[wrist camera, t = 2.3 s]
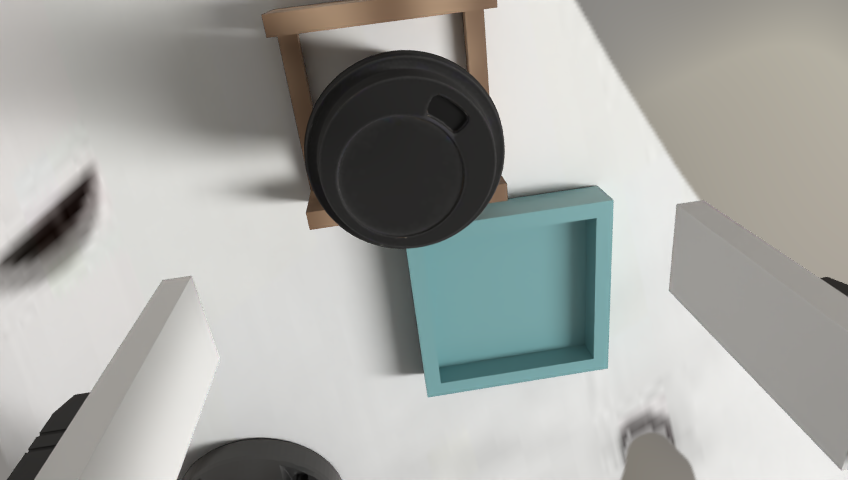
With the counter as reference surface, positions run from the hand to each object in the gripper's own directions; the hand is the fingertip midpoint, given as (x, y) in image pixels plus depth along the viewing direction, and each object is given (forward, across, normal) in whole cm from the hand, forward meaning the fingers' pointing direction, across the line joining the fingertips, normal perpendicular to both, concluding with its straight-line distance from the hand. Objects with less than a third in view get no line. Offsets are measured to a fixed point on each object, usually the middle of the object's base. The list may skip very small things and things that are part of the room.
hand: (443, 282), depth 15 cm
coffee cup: (+26, 0, 0) cm, 26 cm away
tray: (+25, +7, -16) cm, 31 cm away
